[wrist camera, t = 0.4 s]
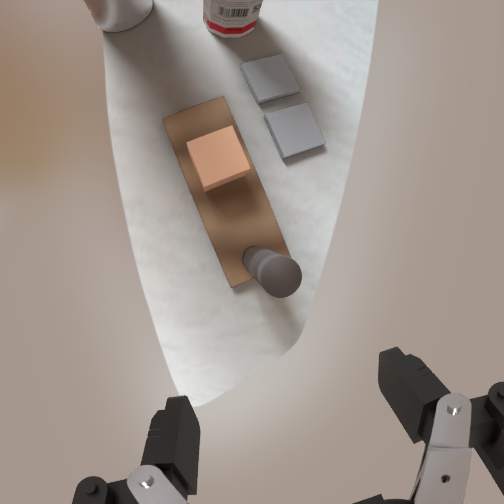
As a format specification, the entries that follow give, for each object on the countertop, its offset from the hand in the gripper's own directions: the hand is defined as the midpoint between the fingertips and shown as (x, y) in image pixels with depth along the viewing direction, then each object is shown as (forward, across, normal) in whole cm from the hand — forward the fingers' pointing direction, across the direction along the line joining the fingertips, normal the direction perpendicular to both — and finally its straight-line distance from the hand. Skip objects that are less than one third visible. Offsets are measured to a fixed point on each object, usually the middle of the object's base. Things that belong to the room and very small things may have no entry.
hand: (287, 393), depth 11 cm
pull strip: (+28, +1, -7) cm, 29 cm away
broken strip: (+31, -8, -16) cm, 36 cm away
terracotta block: (+27, +2, -10) cm, 29 cm away
